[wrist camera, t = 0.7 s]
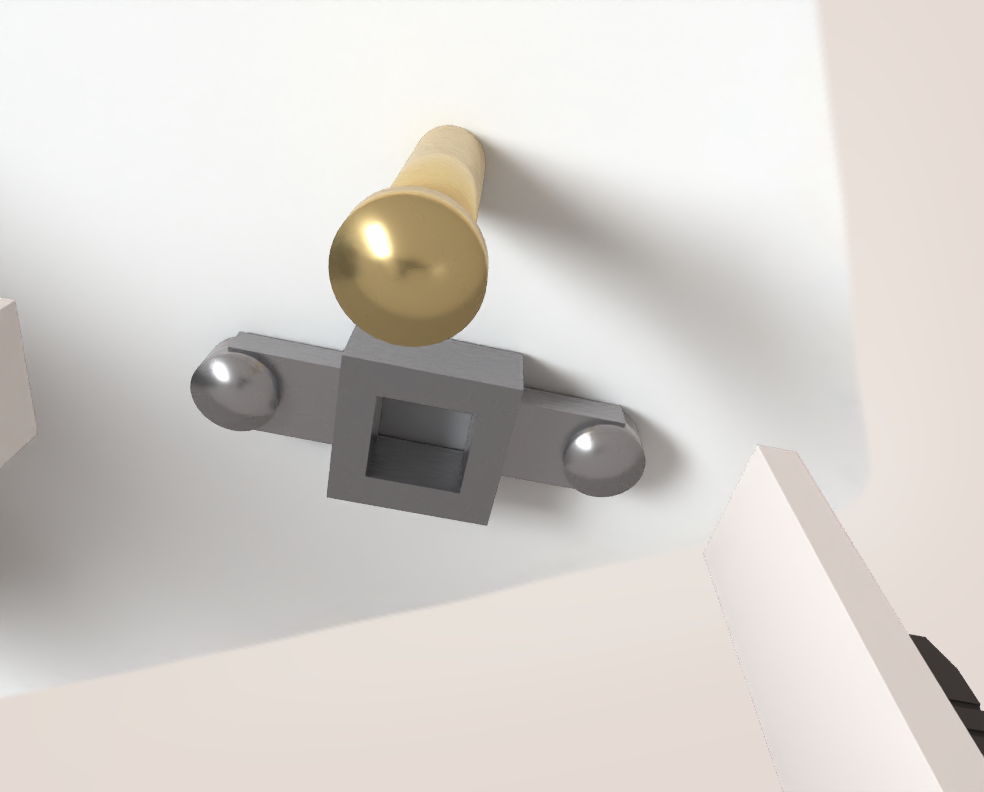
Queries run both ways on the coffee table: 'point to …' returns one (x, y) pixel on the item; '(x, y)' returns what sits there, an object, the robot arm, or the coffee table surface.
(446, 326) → the pin
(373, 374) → the chain ends
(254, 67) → the coffee table surface
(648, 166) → the coffee table surface
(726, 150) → the coffee table surface
